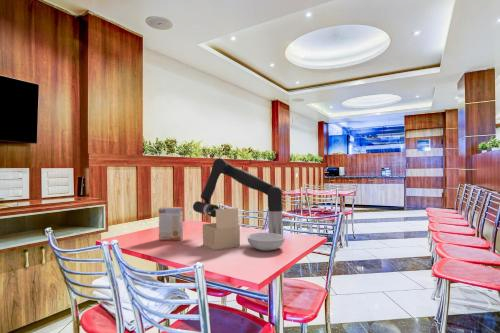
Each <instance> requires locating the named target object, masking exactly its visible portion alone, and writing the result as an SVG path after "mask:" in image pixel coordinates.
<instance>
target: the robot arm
mask: <svg viewBox="0 0 500 333" xmlns="http://www.w3.org/2000/svg"><path fill="white" fill-rule="evenodd" d="M221 174H223V175H226V176H228V177H230V178H232V180H234V181H236V182H237V183H239V184H241V185H242V186H245V187H247V188H249V189H252V190H255V191H258V192H260V193H263V194H265V195H266V196H267V208H268V210H267V212H268V215H267V216H268V221H267V223H268V233H275V234H280V235H283V236H284V221H283V202H282V201H283V190H282V189H281V188H280V187H279V186H276V185H273V184H271V183H269V182H266V181H264V180H262V179H261V178H260V177H259V176H256V175H255V174H253V173H251V172H249V171H246V170H243V169H240V168H238V167H235V166H233V165H232V164H230V163H228V162H227V161H226V160H225V159H223V158H219V157H218V158H216V159H215V160H214V161H213V164H212V167H211V171H210V174H209V177H208V178H207V181H206V183H205V185H204V188H203V190H202V192H201V195H200V198H201V199H202V200H204V202H203V201H199V200H197V201H195V202H194V203H193V204H192V209H193V211H194V212H197V213H199V214H201V215H206V216H208V217H211V218H216V210H222V208H220V206H218V205H217V204H213V203H210V202H211V199H212V197H213V195H214V193H215V189H216V186H217V183H218V180H219V177H220V175H221Z"/></svg>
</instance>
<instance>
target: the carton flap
mask: <svg viewBox="0 0 500 333" xmlns="http://www.w3.org/2000/svg"><path fill="white" fill-rule="evenodd" d="M221 209H222V208H221ZM239 221H240V220H239V208H238V207H235V208H224V209H222V210H216V217H215V223H216V228H224V227H231V226H238V225H240V224H239Z"/></svg>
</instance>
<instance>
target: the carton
mask: <svg viewBox="0 0 500 333" xmlns="http://www.w3.org/2000/svg"><path fill="white" fill-rule="evenodd" d="M240 226H241V225H240V224H239V225H238V226H231V227H224V228H216V222H211V223H205V224H202V244H203V246H205V247H206V248H208V249H210V250H212V251H214V252H217V251H222V250H226V249H227V250H228V249H233V248H238V247H240V246H241V240H240V239H241V237H240V236H241V232H240V230H241V228H240Z"/></svg>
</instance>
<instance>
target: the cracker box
mask: <svg viewBox="0 0 500 333" xmlns="http://www.w3.org/2000/svg"><path fill="white" fill-rule="evenodd" d="M183 210H184V209H183V206H162V207H159V208H158V241H160V242H161V241H162V242H163V241H169V242H170V241H176V242H179V241H181V240H183V239H184V226H183V225H184V223H183V222H184V219H183V217H184V214H183Z"/></svg>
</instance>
